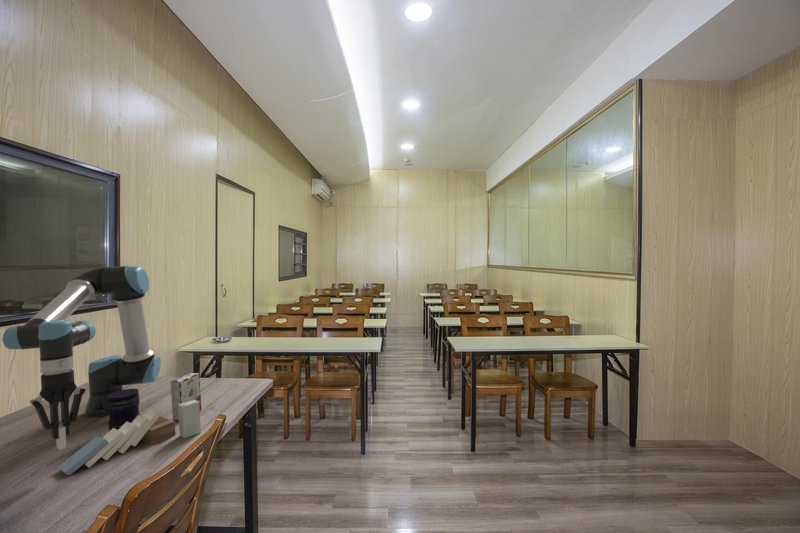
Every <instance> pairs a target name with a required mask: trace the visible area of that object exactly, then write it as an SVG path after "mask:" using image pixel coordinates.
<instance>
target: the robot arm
mask: <svg viewBox="0 0 800 533" xmlns="http://www.w3.org/2000/svg"><path fill="white" fill-rule="evenodd" d="M149 290H150V280H149V276H148V274H147V272H146V271H145V269H144V268H143V267H141V266H131V265H126V266H125V265H124V266H123V265H122V266H100V267H95V268H91V269H89V270H86V271H84V272H82V273H80V274H79V275H77V276H75V277H73V278H71V280H70V281H69V282H68V283H67V284H66V285H65V289H63V291H62V292H59V294H58V295H57V296H56V297H54V298H53V299H52V300H51V301H50V302H48V304H46V305H45V306H44V307H43V308H42V309H40V310H39V311H38V312H37V313H36V314H35V315H34V316H32V317H31V318H30V319H29V320H28V321H26V322H25V324H23V325H15V326H10V327H7V329H6V330H5V331H4V332H3V334H2V338H1V339H2V343H3V346H4V347H5V348H6V349H8V350H30V349H39V362H40V363H39V364H40V367H39V368H40V374H41V375H40V384H41V390H40V392H39V395H38V396H36V397H35V398H34V399H33V398H32V399H31V400H30V401H29V403H30V405H32V406H33V407H34V409H35V411H36V413H37V416H38V418H39V421H40V423H41V425H42V428H44V429H45V430H51V438H52V439H53V440H55V442H56V443H55V444H56V448H57V449H59V450H63V449H65V448H67V436H69V435H70V425H71V424H72V423H73V422H75V421H77V419H78V414H79V410H80V408H81V402H82V398H83V396H84V394H85V392H86V391H87V390H86V388H85V387H78V386H77V384H76V383H75V372H74V371H75V370H74V369H73V368H74V354H73V353H74V351H73V347H78V346H80V345H83V344H86V343H87V342H89V341H91V340H92V339H93V338H94V337H95V335H96V331H97V330H96V327H95V325H94V324H93V323H92V322H91V321H87V320H78V321H74V322H71V320H68V318H69V317H70V316H71V315H72V314H73V313H75V312H76V311H77V310H78V308H80V306H82V304H83V303H84V302H86V301H89V300H91V299H92V298H94V297H97V296H103V295H104V296H105V295H109V296H111V301H113V302H114V303H116V304H117V309H118V315H119V321H120V327H121V333H122V339H123V344H124V351H125V354H124V355H123V356H122V355H119V354H118V355H117V354H116V355H110V356H106V357H101V358H99V359H96V360H93V361H91V362H90V363H89V364H88V368H87V369H88V370H87V371H88V372H87V374H88V390H89V391H88V392H89V396H88V400H87V402H86V406H85V408H84V415H85V416H86V417H88V418H95V417H98V418H99V417H104V416H108V415H109V411H108V395H109V394H111V393H113V392H116V391H120V390H124V389H123V387H124V386H130V385H144V384H149V383H154V382H155V381H156V379H157V378H158V376H159V373H160V371H161V364H162V361H161V357H160V356H159V355H155V352H154V350H153V349H151V348H150V346H149V338H148V333H147V327H146V326H147V325H146V320H145V319H146V318H145V314H144V309H143V306H144V305H143V301H142V300H143V298H144V297H145V296H146V293H147V292H148V291H149ZM73 393H74V395H73ZM72 395H73V398H72V403H71V407H70V405H69V404H70V398H71V396H72ZM43 400H45V401H46V402H47V403H48V405H49V406H48V407H49V417H50V419H49V418H48V415H47V413H46V410H45V407H44V405H42V404H43V402H44V401H43ZM59 404H60V417H61V418H60V417H59ZM59 418H60V419H61V424H60V420H59Z"/></svg>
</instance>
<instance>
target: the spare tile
mask: <svg viewBox="0 0 800 533" xmlns="http://www.w3.org/2000/svg"><path fill="white" fill-rule="evenodd" d="M107 444H109V443H108V442H107V440H106V439H104V438H103V437H101V436H98V435H96V436H95V437H94V438H93V439H91V440H90V441H89V442H87V443H86V444H85V445H84V446H82V447H81V448H79V450H77V451H76V452H75V453H73V454H72V455H71V456H69V457H68V458H67V459H66V460H64V461H63V462H62V463H61V464H59V465H58V466H57V467H56V468H57V469H58V471H60V472H61V471H62V472H61V473H63V474H64V475H66V474H67V475H66V476H68V475H70V476H71V475H72V474H73V473H74V472H76V471H77V470H78V469H79V468H80V467H82V466H83V464H84V463H85V462H87V461H88V460H89V459H90V458H92V457H93V456H94V455H95V454H96V453H98V452H99V451H100V450H101V449H103V448H104V447H105V446H106V445H107Z"/></svg>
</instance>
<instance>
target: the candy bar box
mask: <svg viewBox="0 0 800 533" xmlns="http://www.w3.org/2000/svg"><path fill="white" fill-rule="evenodd" d="M200 380H201V379H200V372H189V373H187V374H185V375H182V376H180V377H177V378H176V379H173V380H171V381H170V394H171V396H170V397H171V410H172V411H171V414H172V421H175V422H176V421H178V422H179V413H178V404H182V403H185V402H188V401H192V400H196V401H198V402H199V411H202V399H201V398H202V396H201V395H202V394H201V381H200Z"/></svg>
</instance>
